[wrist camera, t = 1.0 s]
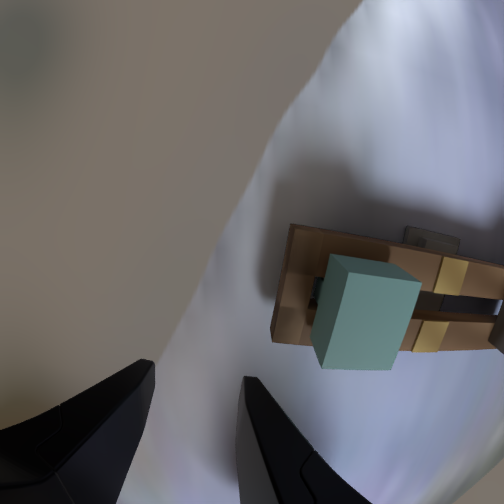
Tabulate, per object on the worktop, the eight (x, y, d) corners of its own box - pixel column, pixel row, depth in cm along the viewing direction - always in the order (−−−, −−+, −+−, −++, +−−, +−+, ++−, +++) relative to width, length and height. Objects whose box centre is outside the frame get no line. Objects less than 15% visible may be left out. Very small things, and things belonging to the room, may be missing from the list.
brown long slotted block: (484, 342, 22) (521, 374, 16) (265, 331, 21) (272, 387, 15) (514, 253, 20) (561, 273, 14) (290, 202, 19) (310, 216, 13)
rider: (360, 326, 19) (390, 370, 14) (303, 321, 19) (321, 368, 14) (380, 254, 18) (422, 282, 13) (321, 244, 18) (348, 272, 13)
